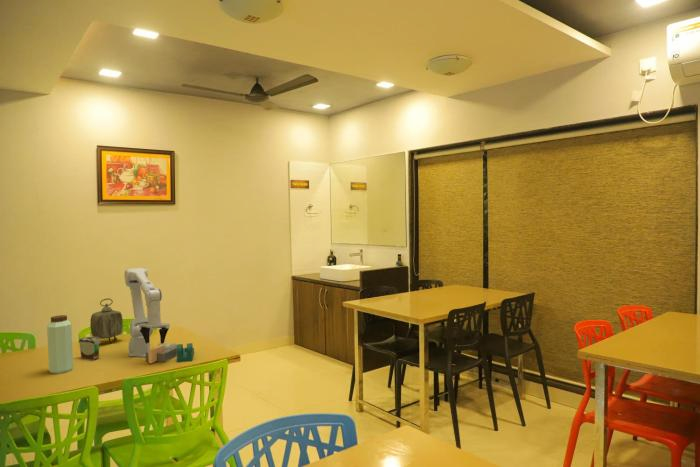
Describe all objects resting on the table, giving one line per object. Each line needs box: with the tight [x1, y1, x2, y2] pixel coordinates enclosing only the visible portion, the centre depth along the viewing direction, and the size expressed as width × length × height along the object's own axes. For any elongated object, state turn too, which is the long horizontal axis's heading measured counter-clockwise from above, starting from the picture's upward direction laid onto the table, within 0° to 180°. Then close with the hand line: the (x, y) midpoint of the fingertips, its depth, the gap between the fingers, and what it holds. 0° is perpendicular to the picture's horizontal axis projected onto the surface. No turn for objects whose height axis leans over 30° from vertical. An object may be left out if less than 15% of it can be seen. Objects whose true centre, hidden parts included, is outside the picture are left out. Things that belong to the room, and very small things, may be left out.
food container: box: [78, 336, 102, 361], centre depth 236 cm, size 12×6×10 cm, turn 65°
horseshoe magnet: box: [145, 342, 177, 363], centre depth 233 cm, size 13×10×6 cm
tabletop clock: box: [89, 297, 124, 345], centre depth 264 cm, size 14×9×25 cm, turn 144°
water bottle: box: [46, 314, 74, 375], centre depth 216 cm, size 10×10×25 cm
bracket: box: [176, 342, 195, 363], centre depth 235 cm, size 18×7×8 cm, turn 14°
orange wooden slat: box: [148, 345, 164, 364], centre depth 228 cm, size 10×2×6 cm, turn 169°
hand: (155, 343), depth 225 cm, fingers open, 7 cm apart
